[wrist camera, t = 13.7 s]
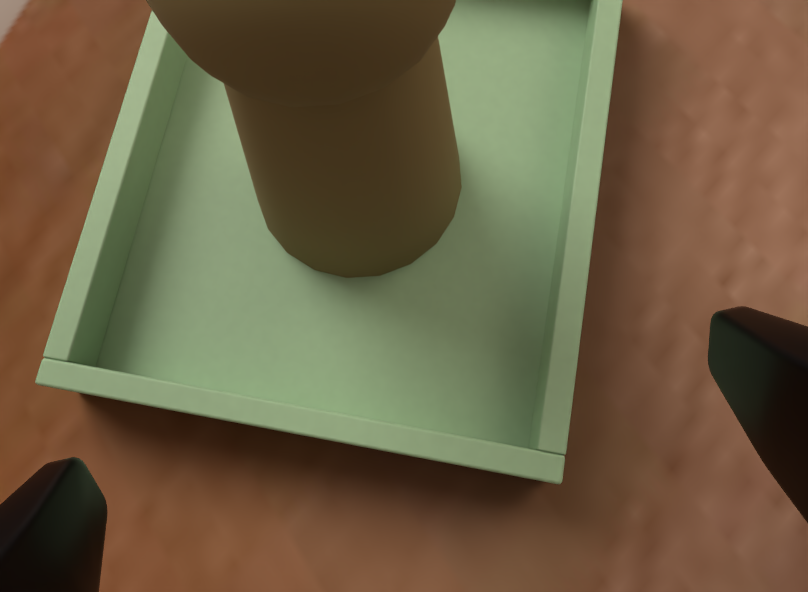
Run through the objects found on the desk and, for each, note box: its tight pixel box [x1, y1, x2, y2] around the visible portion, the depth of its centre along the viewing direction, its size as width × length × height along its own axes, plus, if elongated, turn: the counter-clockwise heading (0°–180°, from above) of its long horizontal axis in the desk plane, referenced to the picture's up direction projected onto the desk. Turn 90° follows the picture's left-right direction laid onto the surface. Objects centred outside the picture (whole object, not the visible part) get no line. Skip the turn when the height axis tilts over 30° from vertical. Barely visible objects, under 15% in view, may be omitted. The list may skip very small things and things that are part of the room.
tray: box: [35, 0, 623, 484], centre depth 19 cm, size 15×13×2 cm
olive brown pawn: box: [146, 0, 462, 278], centre depth 14 cm, size 6×6×11 cm
